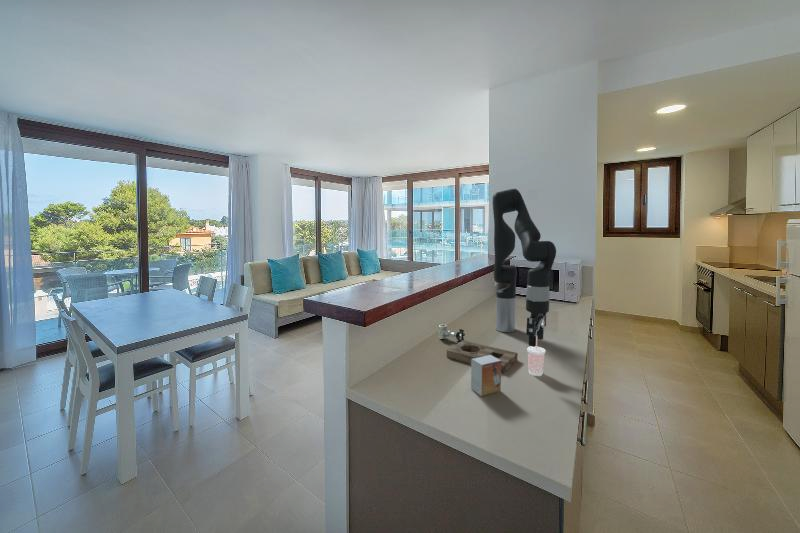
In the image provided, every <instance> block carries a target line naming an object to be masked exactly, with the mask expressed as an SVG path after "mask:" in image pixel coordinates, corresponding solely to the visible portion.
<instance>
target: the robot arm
mask: <svg viewBox="0 0 800 533" xmlns="http://www.w3.org/2000/svg"><path fill="white" fill-rule="evenodd" d="M492 211H493V212H492V213H493V222H494V223H493V224H494V225H493V228H494V229H493V230H494V231H493V236H494V237H493V246H494V249H493V251H494V266H493V279H494V280H493V281H494V282H495V283H496V284H508V286H506V287H505V288H501V289H498V290H497V291H496V298H495V300H496V301H495V302H496V303H495V304H496V307H495V309H496V310H495V312H496V313H495V330H496V331H498V332H501V333H513V332H515V331H516V305H517V304H516V302H517V301H516V300H517V299H516V297H517V277H518V276H517V275H518V270H517V267H516V266H515V265H509V264H507V265H506V264H503V263H504V262H505V261H506V259H507V258H509V257H510V255H511V254H512V253H513V252H514V250H515V248H516V236H517V237H518V239H519V241H520V245H521V250H522V251H521V252H522V256H523V257H524V259H525V260H526V261H527V262H531V263H533V262H534V263H535V262H537V263H538V262H539V263H538V265H537V266H536V267H535V266H534V267H532V268H530V269H529V270H528V271H527V279H526V280H527V284H526V291H525V293H526V294H525V310H526V312H529V313H530V316H529V317H527V319H526V330H525V331H526V332H525V333H526V334H525V335H527V336H528V347H530V346H533V347H535V346H536V336H537V340H541V341H542V340H544V333H545V332H544V331H545V329H546V328H545V327H546V326H547V313H549V311H550V274H551V272H552V268H553V265H554V263H555V262H554V261H555V259H556V255H557V248H556V245H555V244H554V242H552V241H550V240H541V236H542V234H541V232H540V230H539V229H538V228H537V226H536V225H535V222H533V219H532V217H531V216H530V213H529V210H528V208H527V205H526V203H525V201H524V198H523V196H522V194H521V192H520V191H519V190H518V189H517V188H510V189H506V190H502V191H497V192H495V193H494V194H493V196H492ZM512 212H517V216H516V218H515V220H514V231H513V229H512V228H511V227H510V226H509V224H508V223H507V222H506V221H505V219H504V214H508V213H512ZM515 233H516V234H515Z"/></svg>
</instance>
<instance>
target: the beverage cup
mask: <svg viewBox="0 0 800 533" xmlns="http://www.w3.org/2000/svg"><path fill="white" fill-rule="evenodd" d="M526 351H527V361H528V373H529V375H531V376H533V377H534V376H535V377H541V376H542V375H543V372H544V362H545V354H546V349H545V348H544V347H542V346H538V339H537V335H536V346H535V347H533V346H528V347H527V348H526Z"/></svg>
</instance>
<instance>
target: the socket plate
mask: <svg viewBox="0 0 800 533" xmlns="http://www.w3.org/2000/svg"><path fill="white" fill-rule="evenodd" d="M518 354H519V353H518V352H516V351H511V350H506V349H503V348H498V347H494V346H489V345H486V344H482V343H477V342H474V341H473V342H472V341H468V340H465V339H464V340H462V341H461V342H459V343H457V344H455V345H453V346H451V347H449V348H447V349H446V358H449V359H453V360H457V361H459V362H463V363H467V364H470V365H471V359H474V358H479V357H484V356H488V355H492V356H494V357H495V358H497V359H499V360H501V374H505V373H506V372H507V370H509V369H510V368H511V367H512V366H513V365H514V364H515V363H516V362H517V361H518V360H519V359H518V356H519V355H518Z"/></svg>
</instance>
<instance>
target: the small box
mask: <svg viewBox="0 0 800 533" xmlns="http://www.w3.org/2000/svg"><path fill="white" fill-rule="evenodd" d="M470 366H471V367H470V369H471V371H470V374H471V375H470V379H471V380H470V389H471V390H472V391H473V392H475V393H477V395H479V396H480V397H484V396H486V395H487V396H488V395H490V394H495V393H500V392H501V388H502V387H501V386H502V383H501V382H502V373H501V360H499V359H497V358H495V357H494V356H492V355H488V356H484V357H479V358H474V359H471V364H470Z"/></svg>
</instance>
